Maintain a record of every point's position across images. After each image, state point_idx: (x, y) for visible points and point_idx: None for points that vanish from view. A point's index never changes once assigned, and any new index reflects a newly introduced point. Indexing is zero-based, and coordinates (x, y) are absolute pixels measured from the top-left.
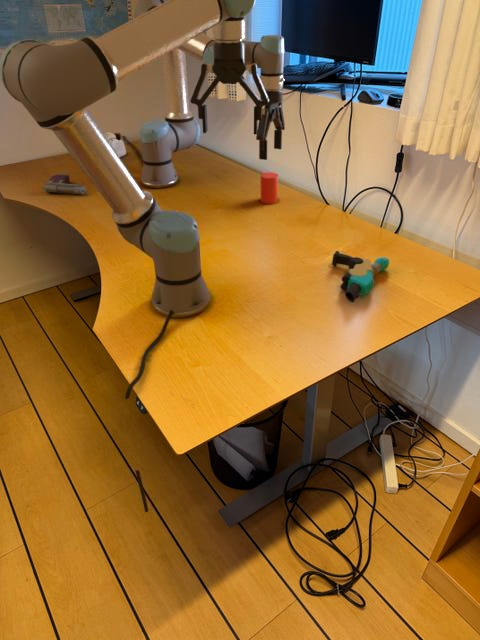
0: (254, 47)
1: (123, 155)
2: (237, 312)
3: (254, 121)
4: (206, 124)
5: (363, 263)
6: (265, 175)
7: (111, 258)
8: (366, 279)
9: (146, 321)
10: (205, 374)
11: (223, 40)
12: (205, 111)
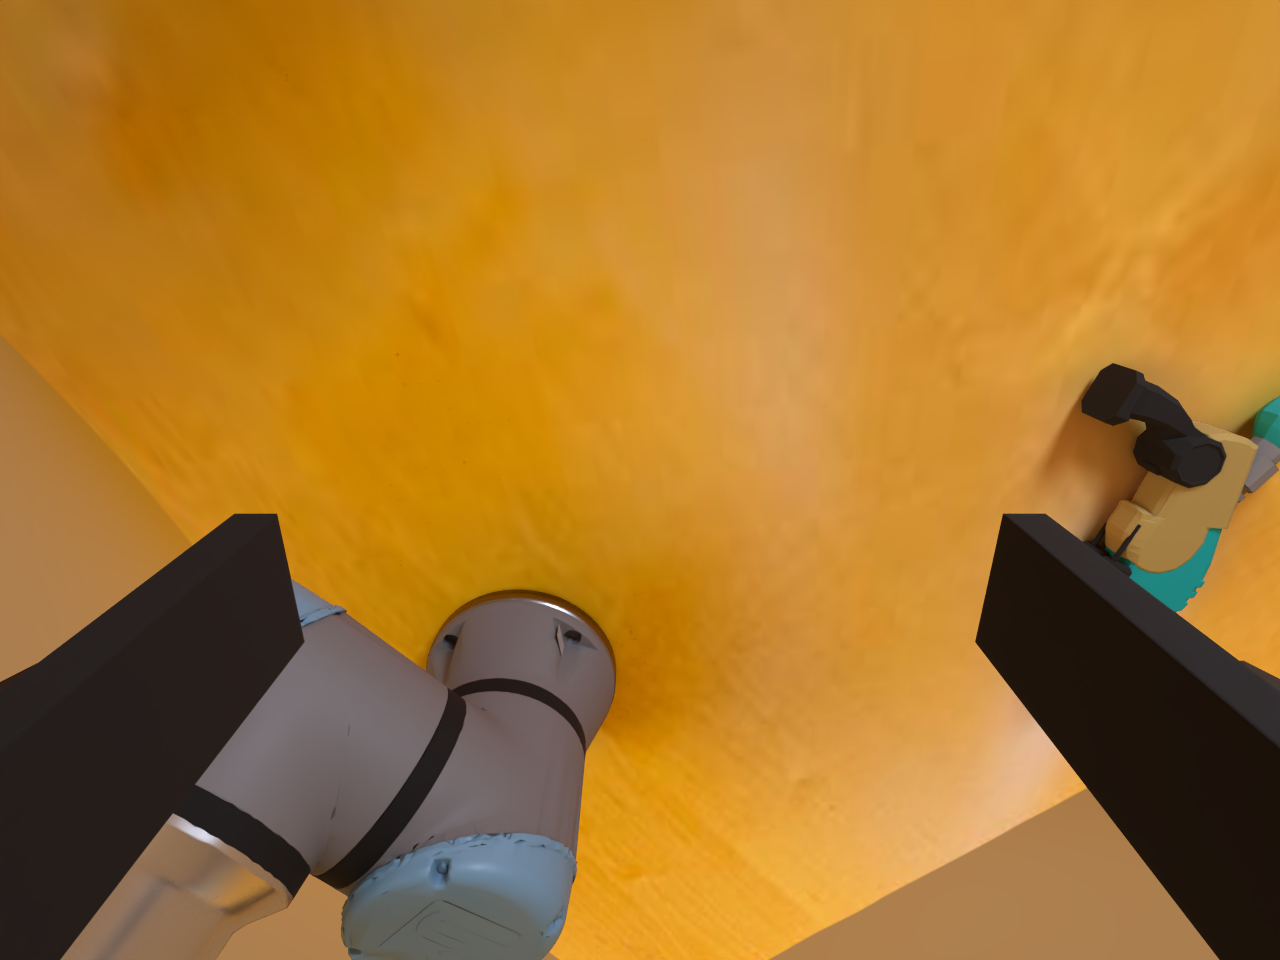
0: None
1: None
2: (708, 698)
3: (1087, 768)
4: (235, 633)
5: (1216, 481)
6: None
7: (131, 421)
8: (1179, 589)
9: None
10: (659, 894)
11: None
12: (86, 841)
